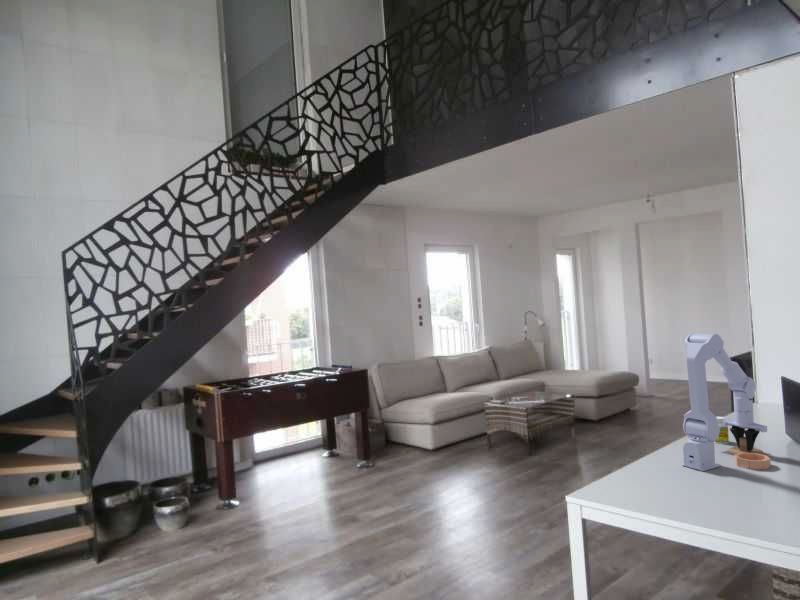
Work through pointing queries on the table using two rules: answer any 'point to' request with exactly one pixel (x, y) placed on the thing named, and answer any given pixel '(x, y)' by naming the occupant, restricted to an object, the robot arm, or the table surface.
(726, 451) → the mat
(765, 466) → the bowl
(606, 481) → the table surface
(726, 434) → the supplement bottle
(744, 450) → the lid
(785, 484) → the table surface
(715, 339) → the robot arm
